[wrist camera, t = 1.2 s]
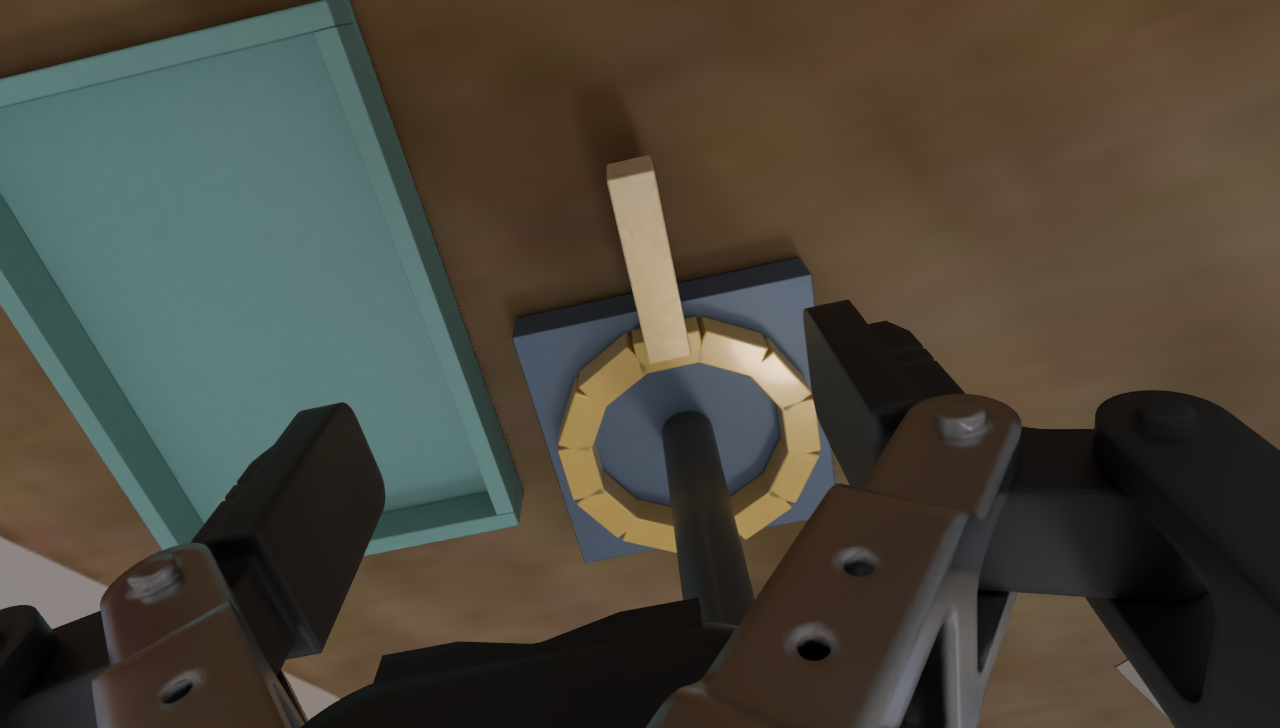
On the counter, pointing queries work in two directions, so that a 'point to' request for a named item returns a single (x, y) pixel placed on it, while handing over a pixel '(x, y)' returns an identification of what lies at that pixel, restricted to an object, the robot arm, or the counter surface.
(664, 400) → the key stand
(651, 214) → the ring
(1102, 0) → the counter surface
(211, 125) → the key tray
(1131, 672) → the platform
